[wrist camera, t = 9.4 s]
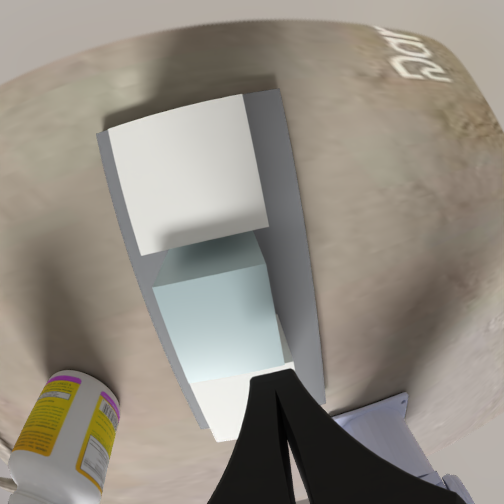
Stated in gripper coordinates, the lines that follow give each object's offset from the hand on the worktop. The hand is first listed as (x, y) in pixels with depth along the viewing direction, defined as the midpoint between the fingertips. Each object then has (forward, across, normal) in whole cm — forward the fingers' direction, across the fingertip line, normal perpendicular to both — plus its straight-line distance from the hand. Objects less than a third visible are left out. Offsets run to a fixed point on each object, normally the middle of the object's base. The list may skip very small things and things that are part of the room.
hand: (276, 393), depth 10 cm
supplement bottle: (+10, +15, +8) cm, 20 cm away
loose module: (+8, +1, -1) cm, 9 cm away
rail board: (+10, +1, +1) cm, 10 cm away
